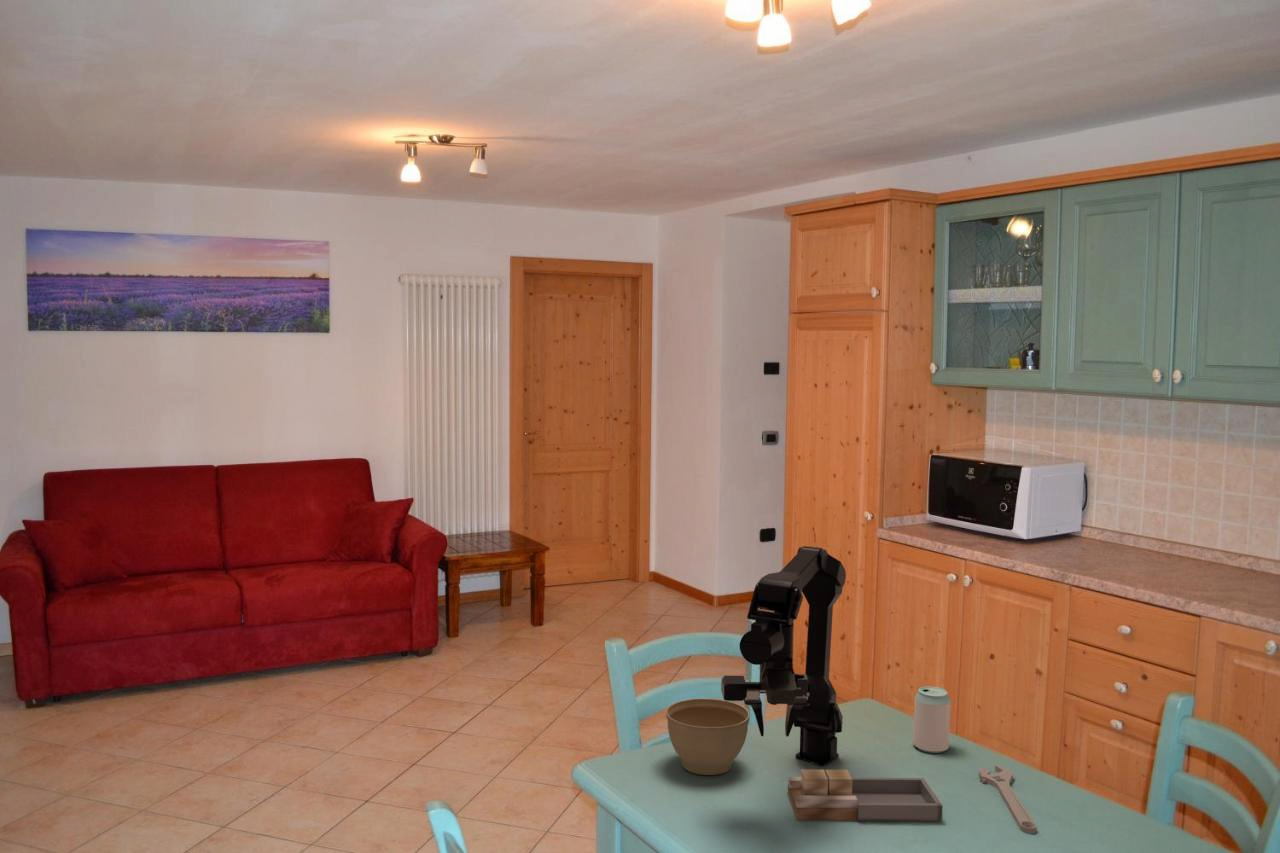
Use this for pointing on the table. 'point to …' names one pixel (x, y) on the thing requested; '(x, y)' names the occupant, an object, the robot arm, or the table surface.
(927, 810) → the tray
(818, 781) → the brown wooden cube
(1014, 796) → the adjustable wrench
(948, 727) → the can
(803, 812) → the slot board
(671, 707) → the planter bowl
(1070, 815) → the table surface
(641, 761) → the table surface
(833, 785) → the light brown cube
